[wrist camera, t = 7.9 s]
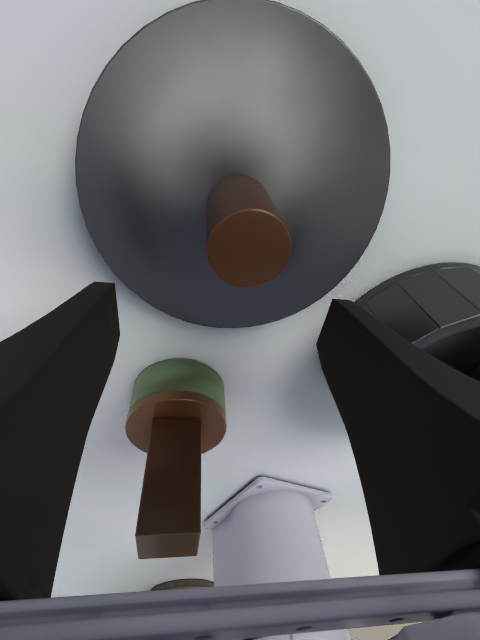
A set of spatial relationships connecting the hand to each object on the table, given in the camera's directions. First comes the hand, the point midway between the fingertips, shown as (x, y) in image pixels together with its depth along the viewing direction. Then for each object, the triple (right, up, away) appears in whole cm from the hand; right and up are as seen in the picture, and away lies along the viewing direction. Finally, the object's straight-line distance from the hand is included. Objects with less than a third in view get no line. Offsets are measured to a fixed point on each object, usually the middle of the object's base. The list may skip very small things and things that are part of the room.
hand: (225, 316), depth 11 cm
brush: (-3, -4, +8) cm, 10 cm away
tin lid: (0, +4, +1) cm, 5 cm away
